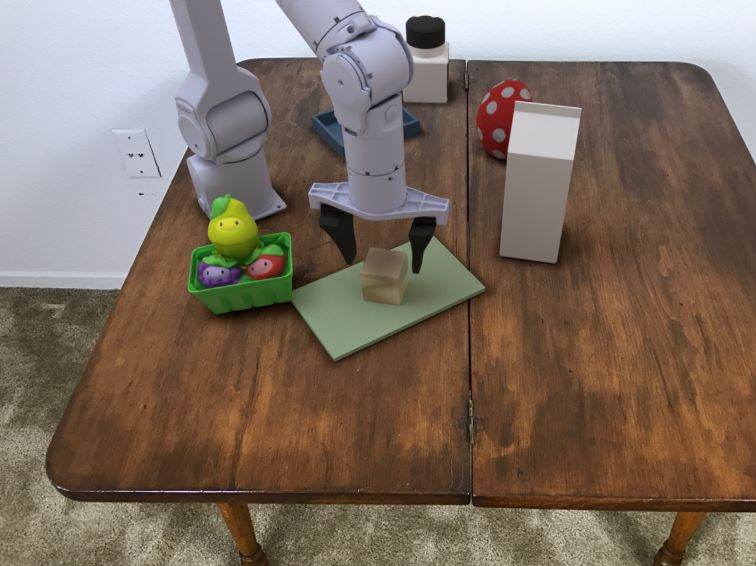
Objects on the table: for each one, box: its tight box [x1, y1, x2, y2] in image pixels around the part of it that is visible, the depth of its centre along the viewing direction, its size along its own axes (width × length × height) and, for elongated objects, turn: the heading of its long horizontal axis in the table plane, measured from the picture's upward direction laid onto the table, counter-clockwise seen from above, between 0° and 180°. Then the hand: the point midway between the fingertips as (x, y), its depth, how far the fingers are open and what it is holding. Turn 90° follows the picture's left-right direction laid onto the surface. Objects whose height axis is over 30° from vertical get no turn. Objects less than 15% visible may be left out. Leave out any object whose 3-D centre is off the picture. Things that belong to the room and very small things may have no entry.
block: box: [360, 247, 409, 306], centre depth 78 cm, size 4×4×4 cm
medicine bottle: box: [402, 13, 450, 104], centre depth 107 cm, size 7×7×12 cm
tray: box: [310, 105, 421, 160], centre depth 102 cm, size 13×10×2 cm
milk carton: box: [499, 101, 583, 264], centre depth 79 cm, size 7×7×19 cm
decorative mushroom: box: [475, 78, 534, 161], centre depth 98 cm, size 11×11×15 cm
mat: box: [290, 235, 486, 363], centre depth 80 cm, size 20×12×1 cm, turn 124°
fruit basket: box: [187, 195, 294, 315], centre depth 75 cm, size 11×9×11 cm
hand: (384, 263), depth 76 cm, fingers open, 7 cm apart
